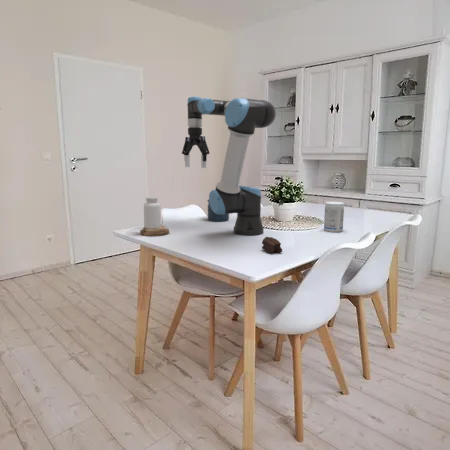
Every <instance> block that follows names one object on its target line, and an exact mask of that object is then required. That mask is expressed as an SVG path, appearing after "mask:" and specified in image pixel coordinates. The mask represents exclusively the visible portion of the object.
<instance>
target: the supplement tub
mask: <svg viewBox="0 0 450 450" xmlns="http://www.w3.org/2000/svg"><path fill="white" fill-rule="evenodd" d="M324 204H325V205H324V216H323V217H324V219H323V220H324V221H323V230H324V231H326V232H331V233H340V232H343V230H344V219H345V217H344V216H345V215H344V214H345V203H344V202H343V201H326V202H325V203H324Z"/></svg>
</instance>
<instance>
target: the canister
mask: <svg viewBox="0 0 450 450" xmlns="http://www.w3.org/2000/svg"><path fill="white" fill-rule="evenodd" d="M207 220H208V221H209V222H227V221H229V220H230V214H216V213H214V212H213V210H212V209H211V206H210V203H209V198H208V199H207Z"/></svg>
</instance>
